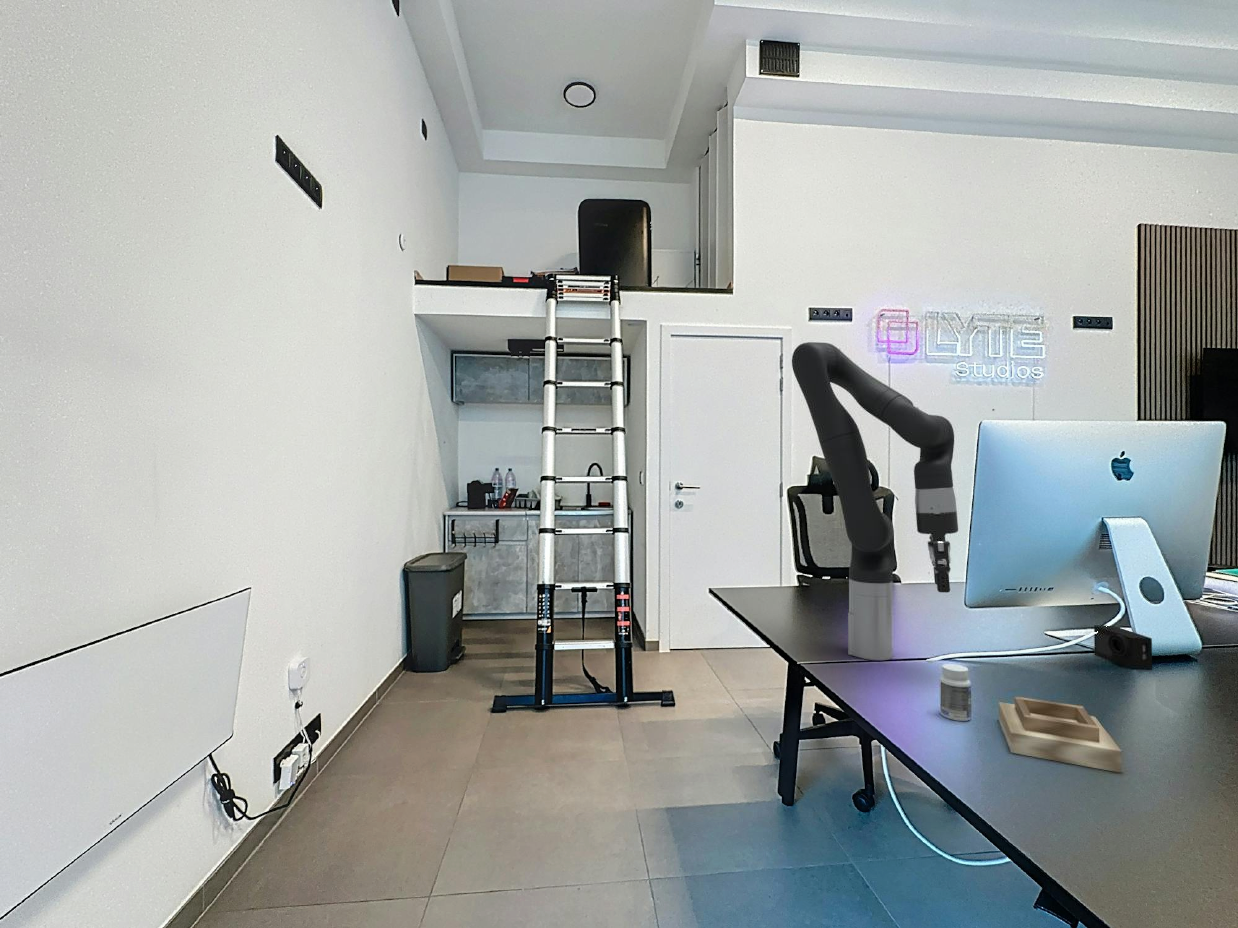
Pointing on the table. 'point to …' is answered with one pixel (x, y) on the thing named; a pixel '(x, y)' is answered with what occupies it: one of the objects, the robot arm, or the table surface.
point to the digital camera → (1123, 647)
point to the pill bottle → (955, 692)
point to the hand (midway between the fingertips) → (942, 588)
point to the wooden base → (1058, 734)
